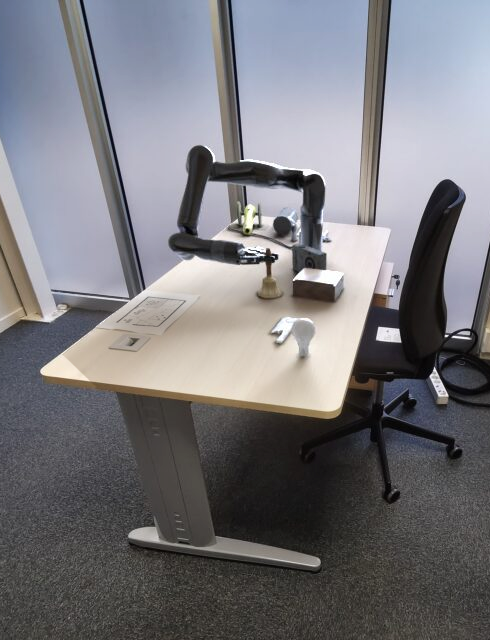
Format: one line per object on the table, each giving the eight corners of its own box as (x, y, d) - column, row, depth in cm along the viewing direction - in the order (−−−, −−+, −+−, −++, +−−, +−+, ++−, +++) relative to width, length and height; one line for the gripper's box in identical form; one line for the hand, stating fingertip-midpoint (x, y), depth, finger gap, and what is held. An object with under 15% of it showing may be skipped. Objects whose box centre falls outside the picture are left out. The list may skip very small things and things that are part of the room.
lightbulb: (292, 349, 124) (291, 313, 117) (315, 349, 124) (315, 313, 118) (291, 361, 118) (290, 324, 112) (315, 361, 119) (315, 324, 113)
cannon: (260, 235, 211) (258, 211, 205) (234, 235, 210) (232, 210, 203) (262, 222, 231) (261, 199, 225) (239, 221, 230) (237, 198, 224)
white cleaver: (264, 341, 127) (264, 337, 126) (282, 319, 139) (282, 316, 138) (281, 343, 126) (281, 339, 125) (297, 321, 138) (297, 318, 137)
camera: (290, 268, 176) (290, 243, 171) (298, 266, 179) (297, 241, 173) (319, 280, 167) (319, 254, 162) (326, 278, 170) (327, 252, 164)
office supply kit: (329, 244, 205) (329, 223, 200) (269, 240, 206) (268, 219, 201) (336, 222, 238) (337, 204, 233) (285, 218, 239) (284, 200, 234)
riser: (292, 296, 154) (292, 279, 151) (303, 283, 165) (303, 266, 161) (334, 302, 152) (335, 285, 148) (343, 288, 162) (343, 272, 159)
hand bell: (285, 291, 157) (284, 246, 148) (275, 300, 150) (272, 253, 141) (264, 287, 159) (262, 243, 150) (253, 296, 152) (250, 249, 143)
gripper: (237, 256, 157) (283, 262, 155) (219, 269, 146) (269, 276, 143) (235, 235, 153) (283, 241, 150) (216, 247, 142) (268, 253, 139)
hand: (276, 258), depth 147 cm, fingers closed on hand bell, 2 cm apart
